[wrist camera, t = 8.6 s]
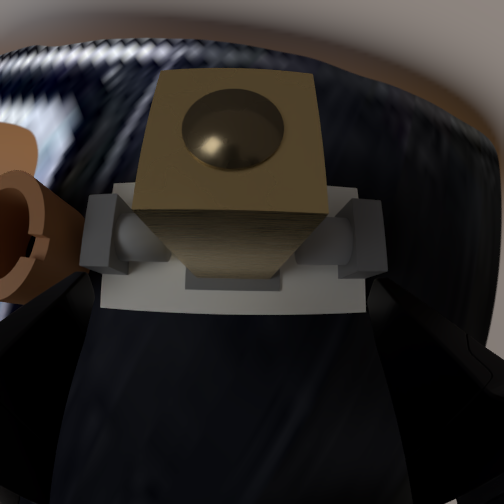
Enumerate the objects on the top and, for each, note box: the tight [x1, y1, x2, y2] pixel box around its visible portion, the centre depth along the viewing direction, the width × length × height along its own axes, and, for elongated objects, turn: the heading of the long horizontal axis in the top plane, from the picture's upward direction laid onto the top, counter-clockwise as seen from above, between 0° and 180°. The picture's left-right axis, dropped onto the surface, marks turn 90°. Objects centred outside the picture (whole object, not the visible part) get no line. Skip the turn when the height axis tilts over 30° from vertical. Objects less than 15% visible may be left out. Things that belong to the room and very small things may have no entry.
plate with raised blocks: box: [79, 183, 388, 315], centre depth 18 cm, size 18×9×4 cm, turn 90°
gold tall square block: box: [131, 68, 329, 279], centre depth 13 cm, size 5×5×13 cm
